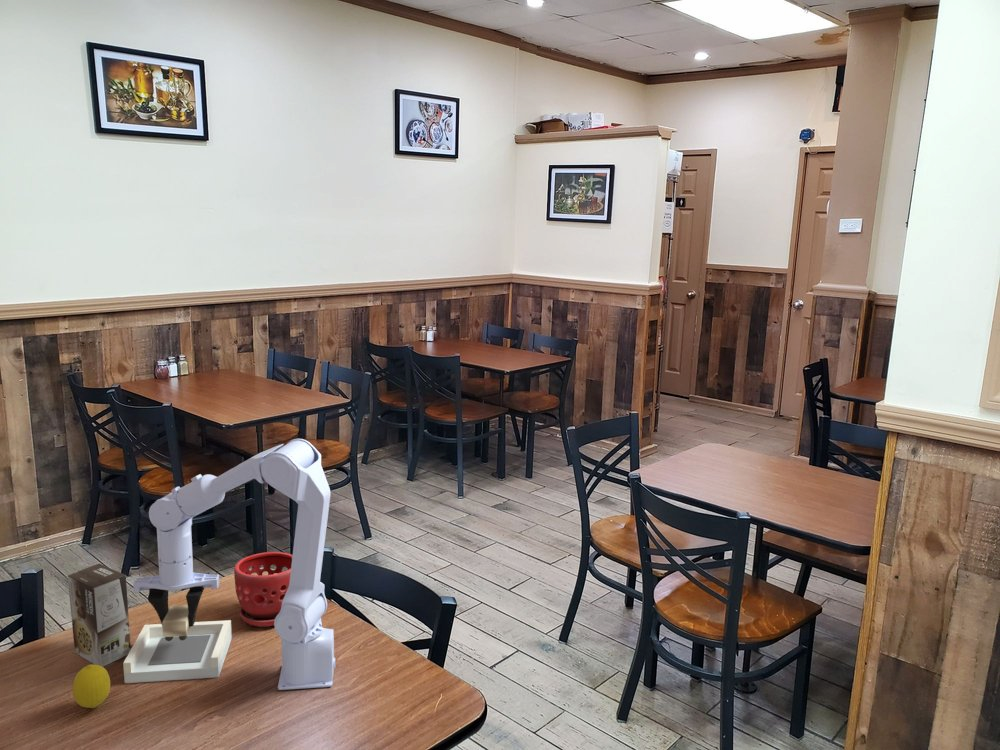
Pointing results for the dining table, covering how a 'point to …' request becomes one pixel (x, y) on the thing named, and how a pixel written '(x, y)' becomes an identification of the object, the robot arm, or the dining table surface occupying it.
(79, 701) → the lemon
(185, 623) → the cream rectangular block
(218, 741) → the dining table surface
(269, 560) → the plant pot
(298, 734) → the dining table surface
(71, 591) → the coffee box
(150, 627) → the dock
